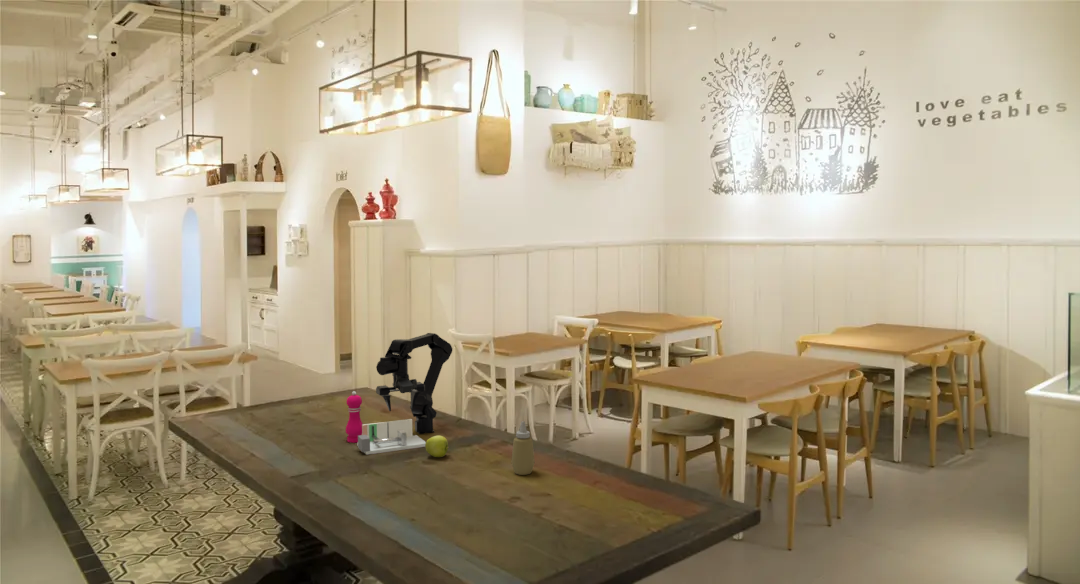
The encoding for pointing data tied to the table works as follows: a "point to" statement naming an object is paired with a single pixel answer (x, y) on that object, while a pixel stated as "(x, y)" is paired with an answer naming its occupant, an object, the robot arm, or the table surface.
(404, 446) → the gauge base
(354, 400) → the pepper mill
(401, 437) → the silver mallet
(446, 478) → the table surface
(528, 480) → the table surface
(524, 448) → the squeeze bottle
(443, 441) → the apple
